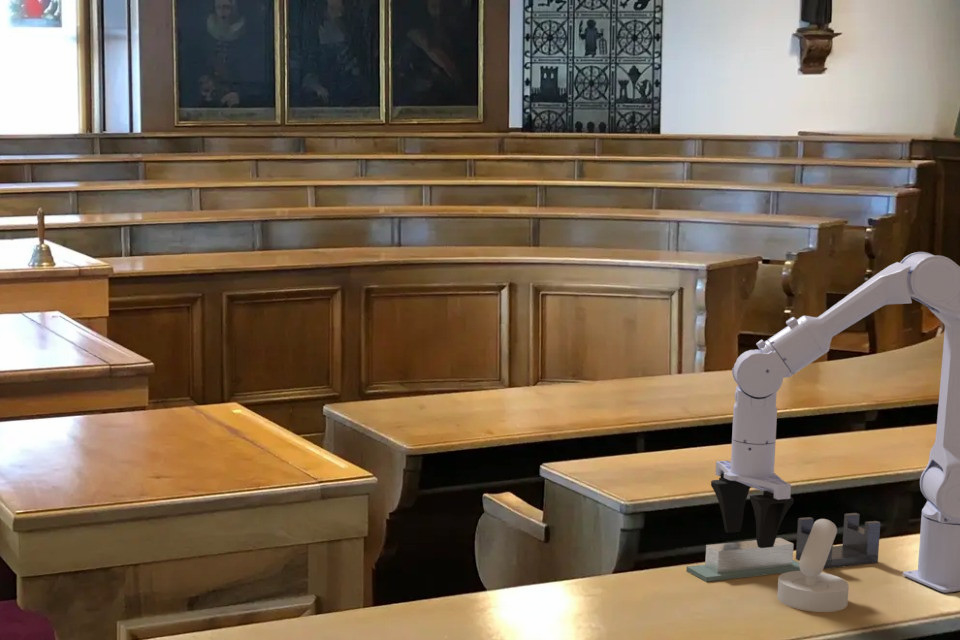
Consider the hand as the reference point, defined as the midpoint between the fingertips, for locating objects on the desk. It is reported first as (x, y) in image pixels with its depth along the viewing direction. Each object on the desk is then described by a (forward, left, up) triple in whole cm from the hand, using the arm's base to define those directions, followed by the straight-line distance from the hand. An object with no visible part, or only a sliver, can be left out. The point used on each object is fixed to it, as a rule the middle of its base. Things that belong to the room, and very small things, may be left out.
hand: (748, 539), depth 172 cm
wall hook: (-1, +12, -5) cm, 13 cm away
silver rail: (0, 0, -4) cm, 4 cm away
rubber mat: (0, 0, -4) cm, 4 cm away
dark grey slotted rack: (-15, 0, -4) cm, 16 cm away
